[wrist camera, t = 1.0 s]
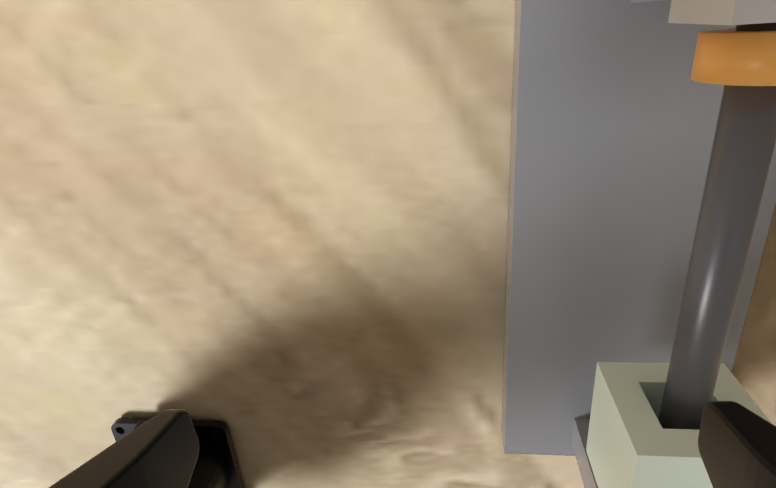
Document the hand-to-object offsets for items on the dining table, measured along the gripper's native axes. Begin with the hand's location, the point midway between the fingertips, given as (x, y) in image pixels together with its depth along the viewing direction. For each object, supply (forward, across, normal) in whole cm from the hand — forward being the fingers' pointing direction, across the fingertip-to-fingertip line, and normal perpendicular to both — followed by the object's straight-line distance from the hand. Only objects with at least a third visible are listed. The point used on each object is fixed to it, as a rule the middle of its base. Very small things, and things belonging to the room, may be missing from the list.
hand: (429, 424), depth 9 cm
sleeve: (+8, -7, +7) cm, 12 cm away
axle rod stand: (+13, -7, +2) cm, 15 cm away
